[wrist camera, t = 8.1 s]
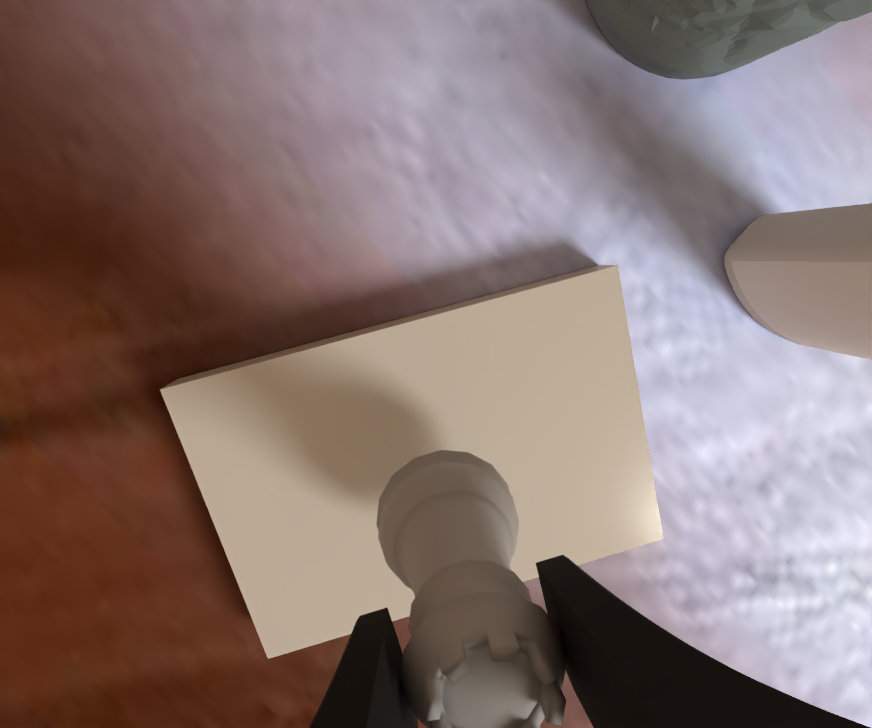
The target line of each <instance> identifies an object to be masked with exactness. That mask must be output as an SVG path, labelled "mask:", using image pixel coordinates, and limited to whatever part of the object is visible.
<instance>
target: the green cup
mask: <svg viewBox="0 0 872 728" xmlns="http://www.w3.org/2000/svg"><path fill="white" fill-rule="evenodd" d="M586 3H587V6H588V8H589V10H590V12H591V14H592V16H593V18H594V20H595V22H596V24H597V26H598V28H599V29H600V30H601V32H602V33H603V35H604V36H605V37H606V39H607V40H608V42H609V43H610V44H611V45H612V46H613V47H614V48H615V49H616V50H617V51H618V52H619V53H620V54H621V55H622V56H624V57H625V58H626V59H628V60H629V61H631V62H632V63H634V64H635V65H637V66H638V67H640V68H642V69H644V70H646V71H648V72H650V73H654V74H657V75H660V76H664V77H667V78H676V79H695V78H704V77H711V76H717V75H719V74H722V73H725V72H728V71H731V70H733V69H736V68H739V67H741V66H744V65H746V64H749V63H751V62H753V61H755V60H757V59H760V58H762V57H764V56H766V55H768V54H770V53H773V52H775V51H777V50H779V49H781V48H783V47H786V46H789V45H791V44H793V43H796V42H798V41H801V40H803V39H806V38H808V37H810V36H813V35H815V34H818V33H820V32H822V31H823V30H825V29H827V28H829V27H831V26H833V25H835V24H837V23H839V22H841V21H847V20H851V19H854V18H857V17H860V16H862V15H865V14H867V13H870V12H872V0H586Z"/></svg>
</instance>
